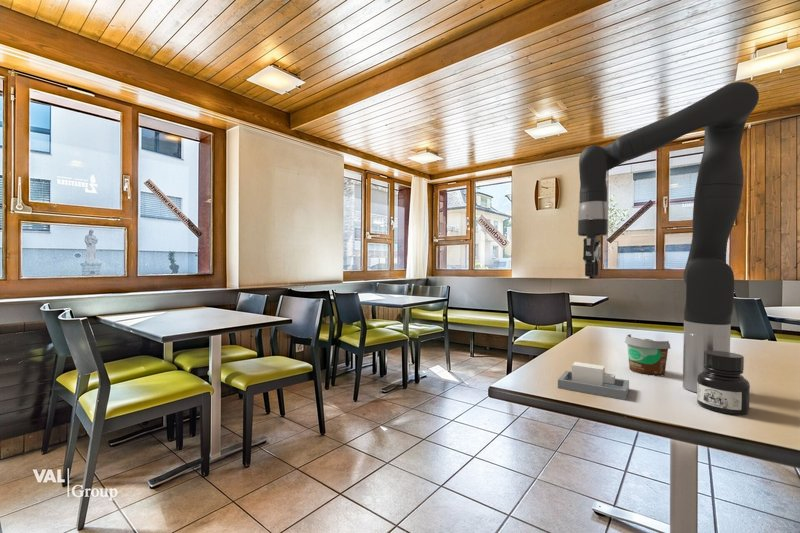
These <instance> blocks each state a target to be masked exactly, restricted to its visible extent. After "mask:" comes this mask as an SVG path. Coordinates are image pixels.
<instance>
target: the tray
mask: <svg viewBox="0 0 800 533" xmlns="http://www.w3.org/2000/svg"><path fill="white" fill-rule="evenodd" d="M557 389H562V390H568V391H573V392H578V393H585V394H590V395H595V396H601V397H606V398H613V399H618V400H623V401H626V400H627V398H628V394H629V390H630V380H629V379H628V380H627V379H622V378H616V377H615V383H614V384H608V383H604V386H600V385H594V384H588V383H582V382H576V381H572V370H571V371H570V370H565V371H564V372H563V374H561V375H560V377H559V378H558V379H557Z"/></svg>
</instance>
